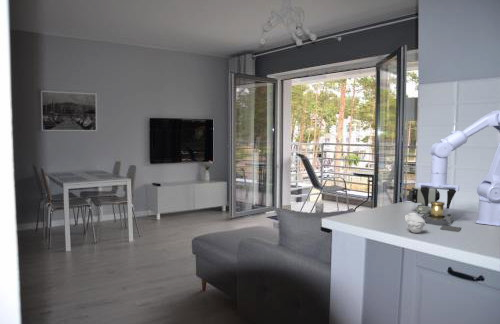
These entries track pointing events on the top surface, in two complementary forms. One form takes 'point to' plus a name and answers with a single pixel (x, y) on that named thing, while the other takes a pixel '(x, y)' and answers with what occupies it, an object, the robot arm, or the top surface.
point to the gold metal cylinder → (437, 209)
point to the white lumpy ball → (414, 222)
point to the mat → (450, 228)
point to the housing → (438, 219)
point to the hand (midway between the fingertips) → (437, 207)
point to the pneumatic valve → (417, 197)
